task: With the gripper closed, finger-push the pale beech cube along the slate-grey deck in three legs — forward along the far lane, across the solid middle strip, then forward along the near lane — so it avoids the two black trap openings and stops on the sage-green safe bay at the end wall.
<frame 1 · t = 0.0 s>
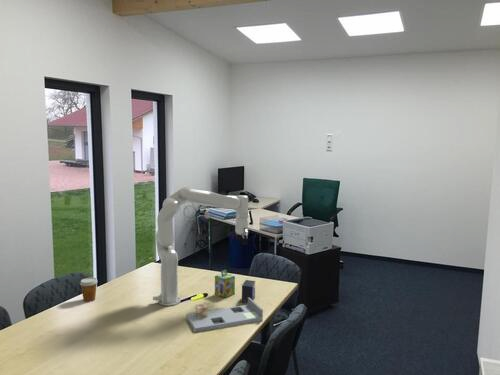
hand: (241, 242, 246), 31 cm above the table, fingers open, 9 cm apart
beech block: (201, 315, 208), point 2 cm above the table, touching trap deck
trap deck: (224, 319, 209), on the table
disposable coffee cup: (89, 300, 233), on the table
small box: (248, 300, 235), on the table
chalk box: (224, 294, 244), on the table
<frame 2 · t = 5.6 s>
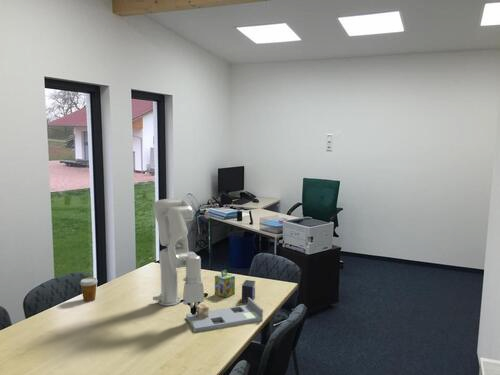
hand: (193, 313, 206), 3 cm above the table, fingers closed
beech block: (202, 315, 208), point 2 cm above the table, touching gripper, trap deck
everything else where it was.
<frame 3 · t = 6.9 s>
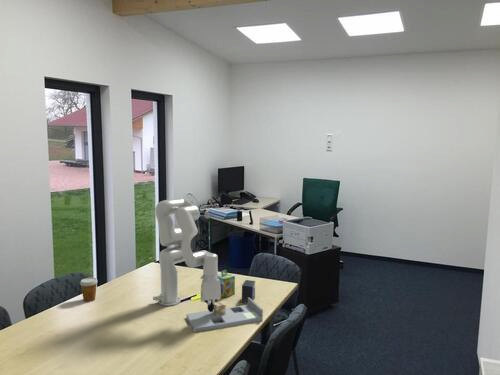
hand: (210, 311, 210), 4 cm above the table, fingers closed
beech block: (219, 312, 212), point 2 cm above the table, touching gripper, trap deck
everything else where it was.
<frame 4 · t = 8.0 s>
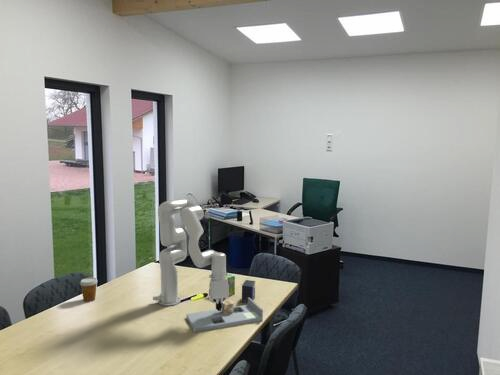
hand: (218, 309, 212), 4 cm above the table, fingers closed
beech block: (227, 311, 213), point 2 cm above the table, touching gripper, trap deck
everything else where it was.
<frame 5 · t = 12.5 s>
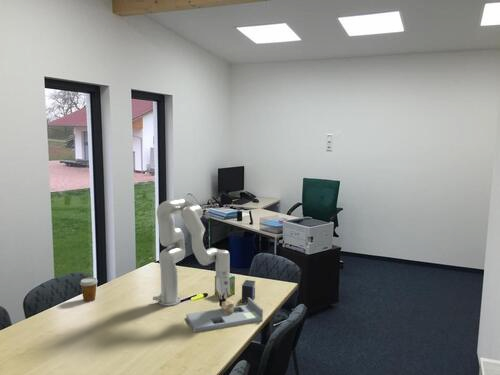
hand: (222, 305, 217), 4 cm above the table, fingers closed
nothing on the table moved.
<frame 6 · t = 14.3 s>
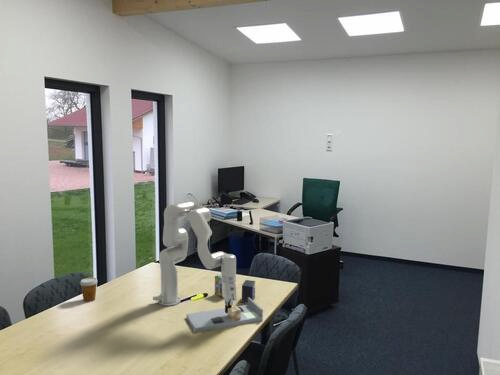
hand: (228, 312, 208), 4 cm above the table, fingers closed
beech block: (234, 318, 205), point 2 cm above the table, touching gripper, trap deck
everything else where it was.
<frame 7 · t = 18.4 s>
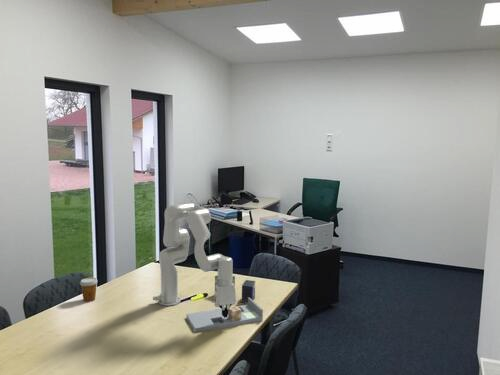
hand: (225, 316, 204), 4 cm above the table, fingers closed
beech block: (234, 318, 205), point 2 cm above the table, touching gripper
everything else where it was.
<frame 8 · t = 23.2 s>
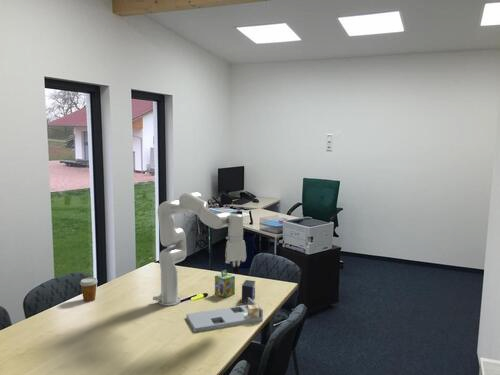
hand: (235, 273, 205), 25 cm above the table, fingers closed
beech block: (253, 315, 208), point 2 cm above the table, touching trap deck
everything else where it was.
at the end: beech block inside the target area (1.9 cm from its centre), point 2.0 cm above the table; beech block tilted 0° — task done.
